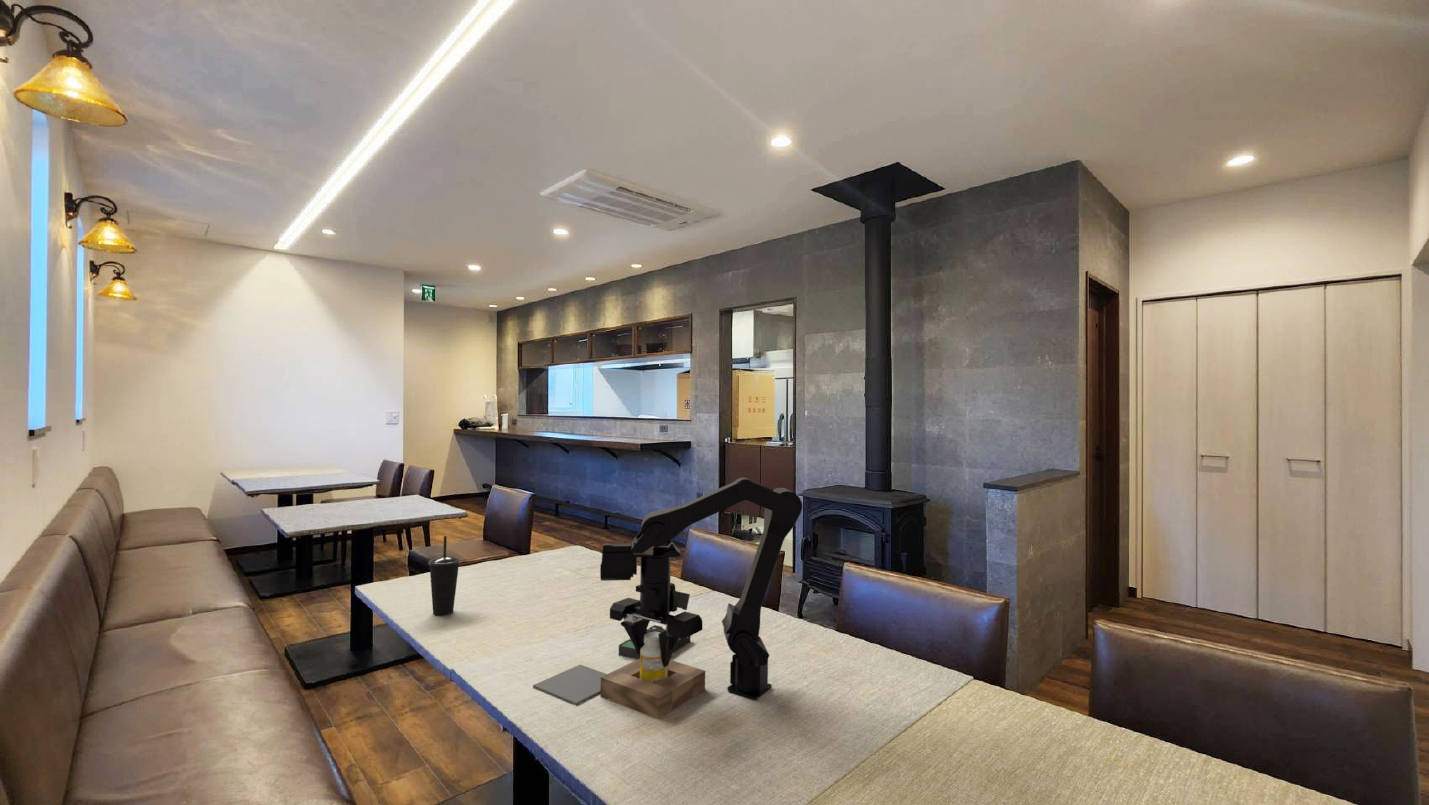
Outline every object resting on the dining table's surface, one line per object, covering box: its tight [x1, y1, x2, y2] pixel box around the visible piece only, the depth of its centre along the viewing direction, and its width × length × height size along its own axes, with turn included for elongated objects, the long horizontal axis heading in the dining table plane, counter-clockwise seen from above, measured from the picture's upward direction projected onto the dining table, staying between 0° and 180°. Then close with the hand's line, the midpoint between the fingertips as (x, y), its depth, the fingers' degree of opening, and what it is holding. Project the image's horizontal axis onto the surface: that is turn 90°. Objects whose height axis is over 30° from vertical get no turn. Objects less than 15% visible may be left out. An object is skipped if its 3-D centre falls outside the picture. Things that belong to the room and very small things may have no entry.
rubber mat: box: [532, 664, 608, 706], centre depth 115 cm, size 12×12×1 cm
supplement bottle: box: [640, 632, 668, 684], centre depth 112 cm, size 5×5×10 cm
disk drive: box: [618, 625, 692, 660], centre depth 134 cm, size 10×3×15 cm
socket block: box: [599, 659, 706, 720], centre depth 112 cm, size 14×14×4 cm
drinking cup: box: [428, 535, 461, 617], centre depth 156 cm, size 8×8×20 cm
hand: (654, 662), depth 112 cm, fingers closed on supplement bottle, 5 cm apart
